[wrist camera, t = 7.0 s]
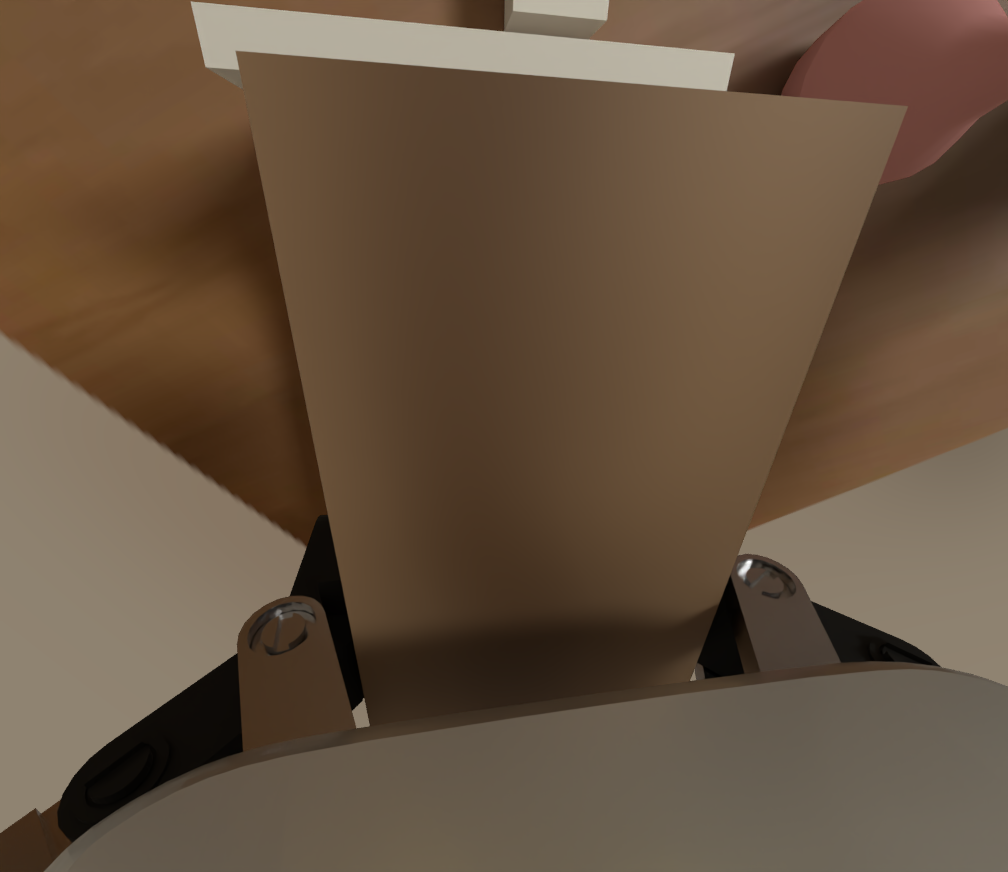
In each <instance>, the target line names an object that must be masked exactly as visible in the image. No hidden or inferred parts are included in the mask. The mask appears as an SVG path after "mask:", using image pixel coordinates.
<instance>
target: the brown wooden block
mask: <svg viewBox="0 0 1008 872" xmlns="http://www.w3.org/2000/svg"><path fill="white" fill-rule="evenodd" d="M236 56H237V61H238V66H239V71H240V76H241V81H242V86H243V91H244V96H245V101H246V106H247V111H248V116H249V121H250V126H251V131H252V136H253V141H254V146H255V151H256V156H257V161H258V166H259V171H260V176H261V182H262V187H263V192H264V197H265V202H266V207H267V212H268V217H269V222H270V227H271V232H272V237H273V242H274V247H275V252H276V257H277V262H278V267H279V272H280V277H281V282H282V287H283V292H284V297H285V302H286V307H287V312H288V317H289V322H290V327H291V332H292V337H293V342H294V347H295V352H296V357H297V362H298V367H299V372H300V377H301V382H302V387H303V392H304V397H305V402H306V407H307V412H308V417H309V422H310V427H311V432H312V437H313V442H314V447H315V452H316V457H317V462H318V467H319V473H320V478H321V483H322V488H323V493H324V498H325V503H326V508H327V513H328V518H329V523H330V528H331V533H332V538H333V543H334V548H335V553H336V558H337V563H338V568H339V573H340V578H341V583H342V588H343V593H344V598H345V603H346V608H347V613H348V618H349V623H350V628H351V633H352V638H353V643H354V648H355V653H356V658H357V663H358V668H359V673H360V678H361V683H362V688H363V693H364V698H365V703H366V708H367V713H368V718H369V723H370V726H376V725H382V724H388V723H394V722H401V721H408V720H415V719H422V718H429V717H436V716H443V715H449V714H456V713H463V712H470V711H477V710H484V709H491V708H498V707H505V706H512V705H519V704H526V703H534V702H541V701H548V700H555V699H563V698H570V697H577V696H584V695H591V694H599V693H606V692H613V691H621V690H628V689H635V688H643V687H650V686H657V685H665V684H672V683H680V682H687V681H690V679H691V676H692V674H693V671H694V669H695V666H696V663H697V661H698V658H699V656H700V653H701V650H702V648H703V645H704V642H705V640H706V637H707V634H708V632H709V629H710V627H711V624H712V621H713V619H714V616H715V613H716V611H717V608H718V605H719V603H720V600H721V598H722V595H723V592H724V590H725V587H726V584H727V582H728V579H729V577H730V574H731V571H732V569H733V566H734V563H735V561H736V558H737V555H738V553H739V550H740V547H741V545H742V542H743V540H744V537H745V534H746V532H747V529H748V527H749V524H750V521H751V519H752V516H753V513H754V511H755V508H756V505H757V503H758V500H759V498H760V495H761V492H762V490H763V487H764V484H765V482H766V479H767V477H768V474H769V471H770V469H771V466H772V463H773V461H774V458H775V455H776V453H777V450H778V448H779V445H780V442H781V440H782V437H783V434H784V432H785V429H786V426H787V424H788V421H789V419H790V416H791V413H792V411H793V408H794V405H795V403H796V400H797V398H798V395H799V392H800V390H801V387H802V384H803V382H804V379H805V376H806V374H807V371H808V369H809V366H810V363H811V361H812V358H813V355H814V353H815V350H816V348H817V345H818V342H819V340H820V337H821V334H822V332H823V329H824V326H825V324H826V321H827V319H828V316H829V313H830V311H831V308H832V305H833V303H834V300H835V297H836V295H837V292H838V290H839V287H840V284H841V282H842V279H843V276H844V274H845V271H846V269H847V266H848V263H849V261H850V258H851V255H852V253H853V250H854V247H855V245H856V242H857V240H858V237H859V234H860V232H861V229H862V226H863V224H864V221H865V219H866V216H867V213H868V211H869V208H870V205H871V203H872V200H873V197H874V195H875V192H876V190H877V187H878V184H879V182H880V179H881V176H882V174H883V171H884V168H885V166H886V163H887V161H888V158H889V155H890V153H891V150H892V147H893V145H894V142H895V140H896V137H897V134H898V132H899V129H900V126H901V124H902V121H903V118H904V116H905V113H906V111H907V108H908V106H900V105H888V104H876V103H863V102H851V101H839V100H827V99H815V98H803V97H791V96H779V95H767V94H754V93H742V92H730V91H718V90H706V89H694V88H682V87H670V86H658V85H645V84H633V83H621V82H609V81H597V80H585V79H573V78H561V77H548V76H536V75H524V74H512V73H500V72H488V71H476V70H464V69H452V68H439V67H427V66H415V65H403V64H391V63H379V62H367V61H355V60H343V59H330V58H318V57H306V56H294V55H282V54H270V53H258V52H246V51H236Z"/></svg>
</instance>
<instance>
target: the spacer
mask: <svg viewBox="0 0 1008 872" xmlns="http://www.w3.org/2000/svg"><path fill="white" fill-rule="evenodd" d="M608 5H609V0H505V10H504V32H514V33H524V34H535V35H545V36H556V37H566V38H576V39H587V40H588V39H589V38H590V37H591V36H592V35H593V34H594V33H595V32H596V31H597V30H598V29H599V28H600V27H601V26H602V25H603V24H604V23H605V22H606V21H607V14H608Z"/></svg>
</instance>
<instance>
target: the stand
mask: <svg viewBox="0 0 1008 872" xmlns="http://www.w3.org/2000/svg"><path fill="white" fill-rule="evenodd" d="M191 5H192V9H193V14H194V18H195V22H196V27H197V31H198V36H199V40H200V44H201V49H202V53H203V58H204V62H205V66H206V68H208V69H209V70H211V71H213V72H214V73H216V74H218V75H219V76H221V77H223V78H225V79H226V80H228V81H230V82H231V83H233V84H235V85H236V86H238V87H240V88H241V89H243V86H242V81H241V76H240V71H239V66H238V61H237V56H236V51H246V52H258V53H270V54H282V55H294V56H306V57H318V58H330V59H343V60H355V61H367V62H379V63H391V64H403V65H415V66H427V67H439V68H452V69H464V70H476V71H488V72H500V73H512V74H524V75H536V76H548V77H561V78H573V79H585V80H597V81H609V82H621V83H633V84H645V85H658V86H670V87H682V88H694V89H706V90H718V91H727V87H728V82H729V78H730V73H731V69H732V64H733V59H734V55H735V54H733V53H723V52H712V51H702V50H691V49H681V48H671V47H660V46H650V45H639V44H629V43H618V42H608V41H597V40H587V39H576V38H566V37H556V36H545V35H535V34H524V33H514V32H503V31H493V30H482V29H472V28H461V27H451V26H441V25H430V24H420V23H409V22H399V21H388V20H378V19H367V18H357V17H346V16H336V15H326V14H315V13H305V12H294V11H284V10H273V9H263V8H252V7H242V6H231V5H221V4H211V3H200V2H191Z"/></svg>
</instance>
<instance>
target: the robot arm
mask: <svg viewBox="0 0 1008 872" xmlns="http://www.w3.org/2000/svg"><path fill="white" fill-rule="evenodd" d="M237 652H238V653H237V654H236V655H234V656H233V657H231V658H230V659H228V660H227V661H226V662H224V663H223V664H221V665H220V666H218V667H217V668H216V669H214V670H213V671H211V672H210V673H208V674H207V675H205V676H204V677H203V678H201V679H200V680H198V681H197V682H195V683H194V684H192V685H191V686H190V687H188V688H187V689H185V690H184V691H182V692H181V693H180V694H178V695H177V696H175V697H174V698H172V699H171V700H170V701H168V702H167V703H165V704H164V705H162V706H161V707H160V708H158V709H157V710H155V711H154V712H152V713H151V714H150V715H149V716H147V717H145V718H144V719H142V720H141V721H140V722H138V723H137V724H135V725H134V726H133V727H131V728H130V729H128V730H127V731H125V732H124V733H122V734H121V735H120V736H118V737H117V738H115V739H114V740H113V741H111V742H109V743H108V744H107V745H106V746H104V747H103V748H102V749H101V750H99V751H98V752H97V753H96V754H95V755H93V756H92V757H91V758H90V759H89V760H88V761H87V762H86V763H85V764H84V765H83V766H82V768H81V769H80V770H79V771H78V772H77V773H76V774H75V775H74V777H73V778H72V780H71V782H70V783H69V785H68V787H67V788H66V790H65V791H64V793H63V795H62V798H61V800H60V801H58V802H57V803H55V804H54V805H53V806H51V807H50V808H48V809H47V810H46V811H44V812H43V813H40V812H39V811H38V810H37V809H36V808H35V809H34V810H32V811H31V812H29V813H28V814H27V815H25V816H24V817H22V818H21V819H20V820H18V821H17V822H15V823H14V824H12V825H11V826H10V827H8V828H7V829H6V830H4V831H3V832H2V833H0V872H1008V686H1005V685H1002V684H1000V683H997V682H994V681H992V680H989V679H986V678H983V677H979V676H976V675H973V674H969V673H965V672H960V671H955V670H951V669H947V668H942V667H940V666H939V665H938V664H937V663H936V662H935V661H934V660H933V659H931V657H929V656H928V655H927V654H925V653H924V652H922V651H921V650H919V649H918V648H917V647H915V646H913V645H911V644H909V643H907V642H905V641H903V640H901V639H899V638H897V637H894V636H892V635H890V634H887V633H885V632H882V631H880V630H878V629H876V628H873V627H871V626H868V625H866V624H864V623H861V622H859V621H856V620H854V619H852V618H850V617H847V616H845V615H843V614H840V613H838V612H836V611H833V610H831V609H829V608H826V607H824V606H821V605H819V604H817V603H814V602H812V601H811V600H810V598H809V596H808V594H807V592H806V590H805V588H804V587H803V584H802V583H801V582H800V580H799V579H798V577H797V576H796V575H795V574H794V573H793V572H792V571H790V570H789V569H788V568H786V567H785V566H783V565H782V564H780V563H778V562H776V561H774V560H772V559H769V558H766V557H763V556H759V555H752V554H744V555H739V556H737V558H736V561H735V563H734V566H733V569H732V571H731V574H730V577H729V579H728V582H727V584H726V587H725V590H724V592H723V595H722V598H721V600H720V603H719V605H718V608H717V611H716V613H715V616H714V619H713V621H712V624H711V627H710V629H709V632H708V634H707V637H706V640H705V642H704V645H703V648H702V650H701V653H700V656H699V658H698V661H697V663H696V666H695V675H696V680H695V681H687V682H680V683H672V684H665V685H657V686H650V687H643V688H635V689H628V690H621V691H613V692H606V693H599V694H591V695H584V696H577V697H570V698H563V699H555V700H548V701H541V702H534V703H526V704H519V705H512V706H505V707H498V708H491V709H484V710H477V711H470V712H463V713H456V714H449V715H443V716H436V717H429V718H422V719H415V720H408V721H401V722H394V723H388V724H382V725H376V726H369V727H364V728H357V729H356V725H355V721H354V718H353V714H352V710H353V709H354V708H355V707H356V706H358V704H360V703H361V702H362V700H363V698H364V693H363V688H362V683H361V678H360V673H359V668H358V663H357V658H356V653H355V648H354V643H353V638H352V633H351V628H350V623H349V618H348V613H347V608H346V603H345V598H344V593H343V588H342V583H341V578H340V573H339V568H338V563H337V558H336V553H335V548H334V543H333V538H332V533H331V528H330V523H329V518H328V515H320V516H319V517H318V518H317V520H316V523H315V526H314V529H313V532H312V534H311V537H310V540H309V543H308V546H307V548H306V551H305V555H304V558H303V560H302V563H301V565H300V568H299V571H298V574H297V577H296V580H295V582H294V586H293V588H292V591H291V594H290V596H289V597H285V598H281V599H278V600H275V601H273V602H271V603H269V604H267V605H265V606H263V607H262V608H261V609H259V610H258V611H256V612H255V613H254V614H253V615H252V616H251V617H250V618H249V619H248V620H247V621H246V622H245V623H244V625H243V627H242V629H241V631H240V633H239V636H238V642H237Z"/></svg>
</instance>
